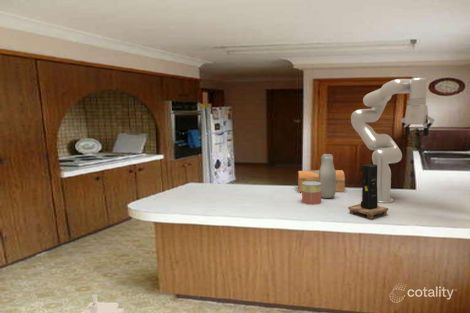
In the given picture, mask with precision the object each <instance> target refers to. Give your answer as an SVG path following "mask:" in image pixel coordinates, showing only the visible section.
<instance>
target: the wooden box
mask: <svg viewBox="0 0 470 313" xmlns="http://www.w3.org/2000/svg"><path fill="white" fill-rule="evenodd" d="M319 170H320V169H317V170H316V169H315V170H313V169H312V170H298V171H297V174H298V175H297V185H298V186H297V188H298V189H297V190H298V192H302V182H306V181H316V182H319ZM335 172H336V192H335V193H345V192H346V177H345V176H346V175H345V172H344V170H343V169H340V170H339V169H335Z"/></svg>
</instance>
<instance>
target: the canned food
mask: <svg viewBox="0 0 470 313" xmlns="http://www.w3.org/2000/svg"><path fill="white" fill-rule="evenodd" d="M301 202H302V203H303V204H304V205H305V204H306V205H310V206H311V205H315V204H316V205H320V204H321V203H322V197H321V183H320V182H316V181H306V182H302V193H301Z"/></svg>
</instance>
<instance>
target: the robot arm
mask: <svg viewBox="0 0 470 313" xmlns="http://www.w3.org/2000/svg"><path fill="white" fill-rule="evenodd" d="M427 80H428V79H427V78H426V77H413V78H397V79H396V78H395V79H392V80H390V81H388V82H386V83H384V84H383V85H382V86H381V88H378V89H375V90H374V91H371V92H369V93H367V94H365V95H364V97H363V99H362V102H363V105H364V106H366V107H368V108H362V109H361V108H360V109H356V110H355V111H353V112H352V113H351V116H350V121H351V122H350V123H351V126H352V128H353V129H354V130H355V132H356V133H357V134H358V135H359V136H360V139H361V140H362V142H364V144H365V145H366V147H367V148H368V149H369V151H370V150H371V151H373V152H372V155H371V161H372V163H373V164H375V165H377V200H378V203H379V204H389V203H393V201H394V198H392V197H391V189H392V188H391V187H392V186H391V184H392V180H391V178H392V171H391V167H390V166H389V165H390V164H397V163H398V162H401V160H402V158H403V154H402V150H401V149H400V148H399V146H398V145H397V143H396V142H395V141H394V140H393V138H392V137H391V136H390V135H389V134H386V133H376V131H375V130H374V129H373V127H372V126H370V125H369V124H368V123H375V122H377V121H378V120H379V119H380V117H381V115H382V114H383V112H384V110H385V108H386V105H387V103H388V102H389V101H390V100H391V99H392V96H393V95H396V94H398V95H399V94H409V100H407V101H406V103H407V104H409V105H407V107H406V110H405V116H404V117H402V118H400V122H401V125H402V126H403V128H404V134H405V136H410V135H411V133H410V131H411V128H410V126H411V125H422V127H423V129H422V130H423V132H422V136H423V137H428V136H429V132H430V128H431V126H432V125H433V124H434V122H435V118H433V117H431V116H429V108H428V104H427V86H428V85H427V83H428V81H427Z"/></svg>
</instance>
